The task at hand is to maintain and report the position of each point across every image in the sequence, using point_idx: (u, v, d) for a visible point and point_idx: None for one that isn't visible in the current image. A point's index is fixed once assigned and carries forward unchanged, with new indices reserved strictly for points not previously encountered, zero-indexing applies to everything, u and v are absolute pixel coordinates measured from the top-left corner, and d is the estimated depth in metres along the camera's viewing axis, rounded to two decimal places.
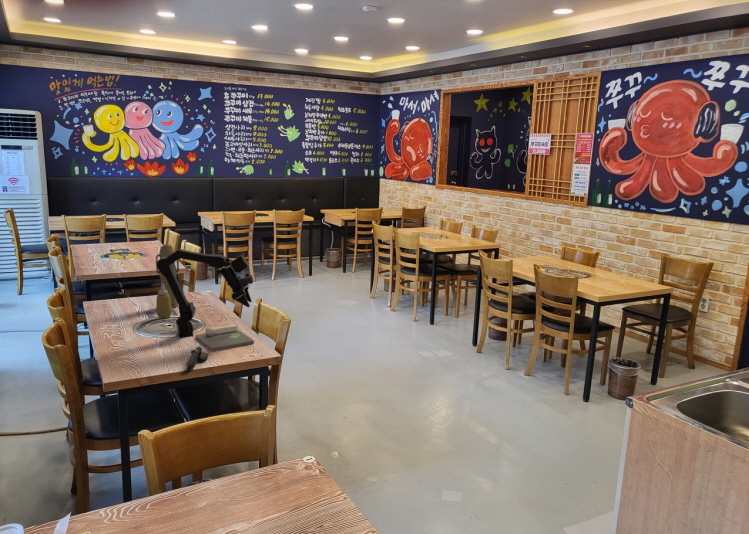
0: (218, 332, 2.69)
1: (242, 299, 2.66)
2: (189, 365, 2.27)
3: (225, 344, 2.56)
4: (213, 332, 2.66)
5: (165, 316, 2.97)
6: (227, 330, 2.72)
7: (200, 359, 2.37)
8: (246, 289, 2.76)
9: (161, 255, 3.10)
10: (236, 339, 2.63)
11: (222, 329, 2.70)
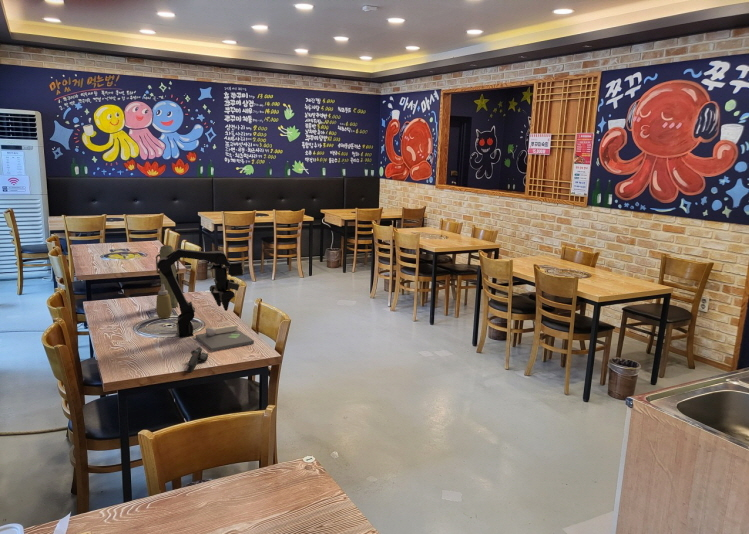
0: (218, 332, 2.69)
1: (225, 301, 2.69)
2: (190, 365, 2.26)
3: (225, 344, 2.56)
4: (213, 332, 2.66)
5: (165, 316, 2.97)
6: (227, 330, 2.72)
7: (200, 359, 2.37)
8: None
9: (161, 255, 3.10)
10: (236, 339, 2.63)
11: (222, 329, 2.70)
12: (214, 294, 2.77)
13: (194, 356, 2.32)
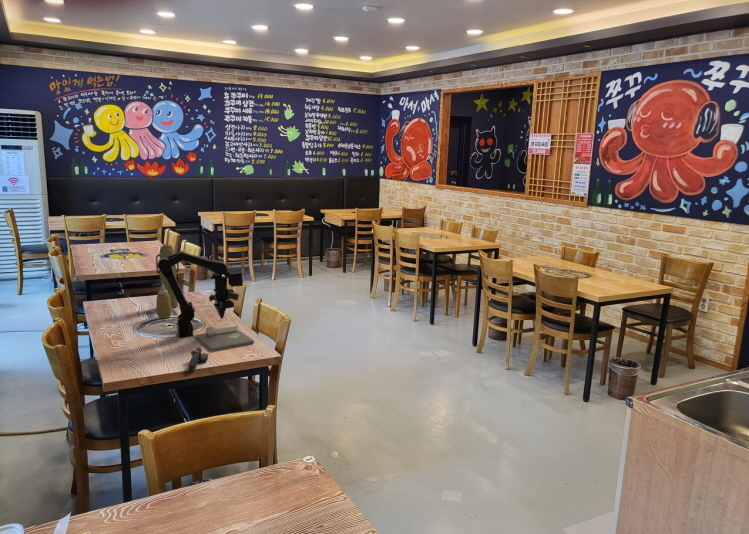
0: (218, 332, 2.69)
1: (222, 309, 2.74)
2: (192, 366, 2.26)
3: (225, 344, 2.56)
4: (213, 332, 2.66)
5: (165, 316, 2.97)
6: (227, 330, 2.72)
7: (201, 360, 2.36)
8: None
9: (161, 255, 3.10)
10: (236, 339, 2.63)
11: (222, 329, 2.70)
12: (217, 306, 2.74)
13: (195, 357, 2.32)
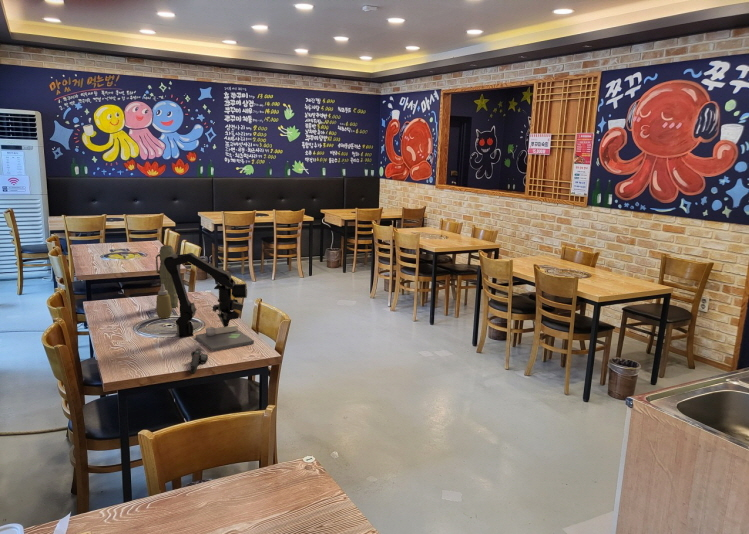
0: (218, 332, 2.69)
1: (226, 319, 2.71)
2: (193, 366, 2.25)
3: (225, 344, 2.56)
4: (213, 332, 2.66)
5: (165, 316, 2.97)
6: (227, 330, 2.72)
7: (201, 360, 2.36)
8: None
9: (161, 255, 3.10)
10: (236, 339, 2.63)
11: (222, 329, 2.70)
12: None
13: (196, 357, 2.31)
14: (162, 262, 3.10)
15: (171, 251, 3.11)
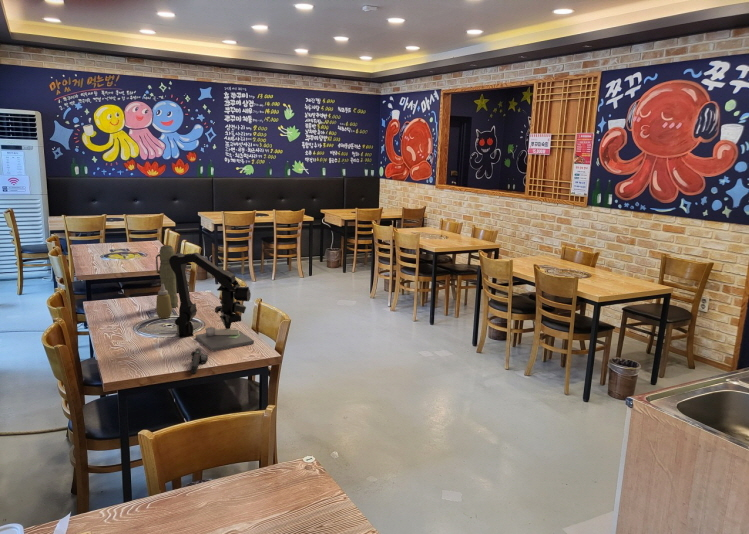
0: (217, 334, 2.67)
1: (228, 321, 2.68)
2: (194, 367, 2.25)
3: (225, 344, 2.56)
4: (211, 332, 2.66)
5: (165, 316, 2.97)
6: (227, 333, 2.68)
7: (201, 360, 2.36)
8: None
9: (161, 255, 3.10)
10: (236, 339, 2.63)
11: (222, 331, 2.67)
12: None
13: (196, 357, 2.31)
14: (162, 262, 3.10)
15: (171, 251, 3.11)
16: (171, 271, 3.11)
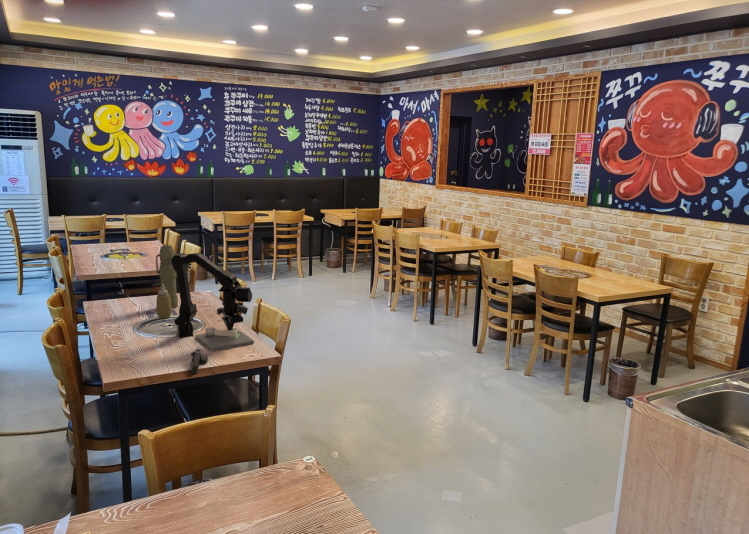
0: (216, 334, 2.67)
1: (230, 323, 2.66)
2: (195, 367, 2.25)
3: (225, 344, 2.56)
4: (210, 332, 2.66)
5: (165, 316, 2.97)
6: (225, 334, 2.66)
7: (202, 361, 2.35)
8: None
9: (161, 255, 3.10)
10: (236, 339, 2.63)
11: (220, 332, 2.66)
12: (225, 320, 2.67)
13: (197, 358, 2.30)
14: (162, 262, 3.10)
15: (171, 251, 3.11)
16: (171, 271, 3.11)
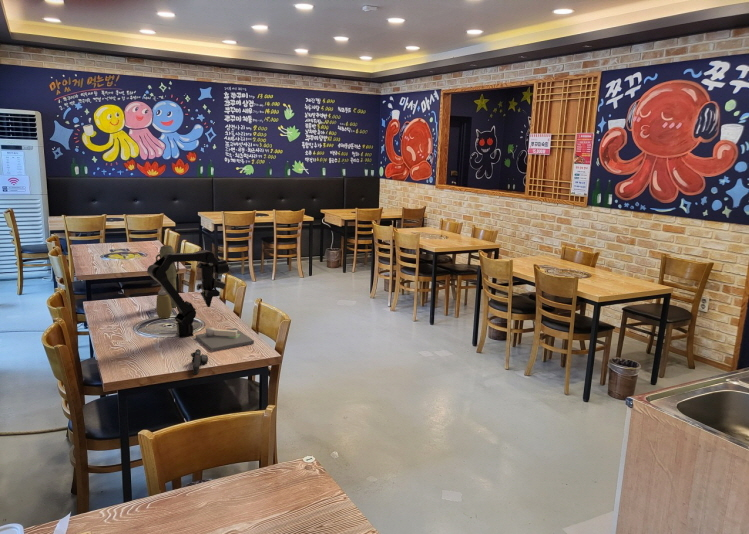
0: (216, 334, 2.67)
1: (208, 297, 2.76)
2: (197, 367, 2.24)
3: (225, 344, 2.56)
4: (209, 332, 2.66)
5: (165, 316, 2.97)
6: (225, 334, 2.66)
7: (202, 361, 2.35)
8: None
9: (161, 255, 3.10)
10: (236, 339, 2.63)
11: (220, 332, 2.66)
12: None
13: (197, 358, 2.30)
14: None
15: (171, 251, 3.11)
16: (171, 271, 3.11)
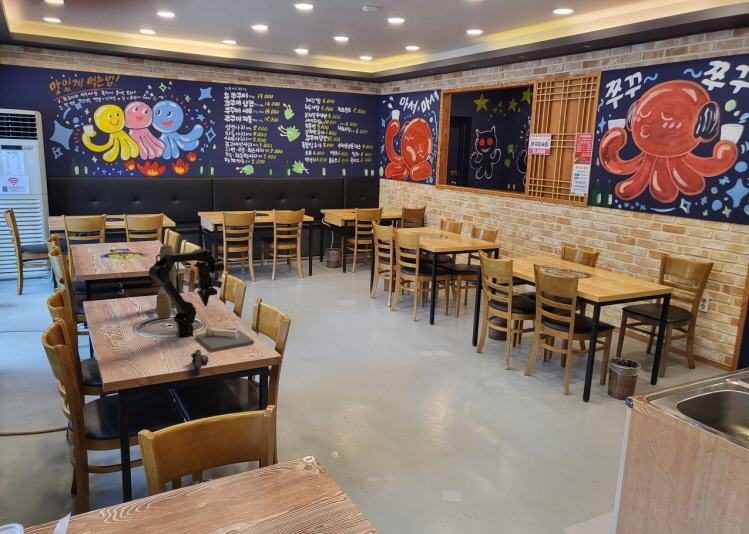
0: (216, 334, 2.67)
1: (205, 296, 2.77)
2: (198, 368, 2.24)
3: (225, 344, 2.56)
4: (209, 332, 2.66)
5: (165, 316, 2.97)
6: (225, 334, 2.66)
7: (203, 362, 2.35)
8: None
9: (161, 255, 3.10)
10: (236, 339, 2.63)
11: (220, 332, 2.66)
12: None
13: (198, 358, 2.30)
14: None
15: (171, 251, 3.11)
16: (171, 271, 3.11)
